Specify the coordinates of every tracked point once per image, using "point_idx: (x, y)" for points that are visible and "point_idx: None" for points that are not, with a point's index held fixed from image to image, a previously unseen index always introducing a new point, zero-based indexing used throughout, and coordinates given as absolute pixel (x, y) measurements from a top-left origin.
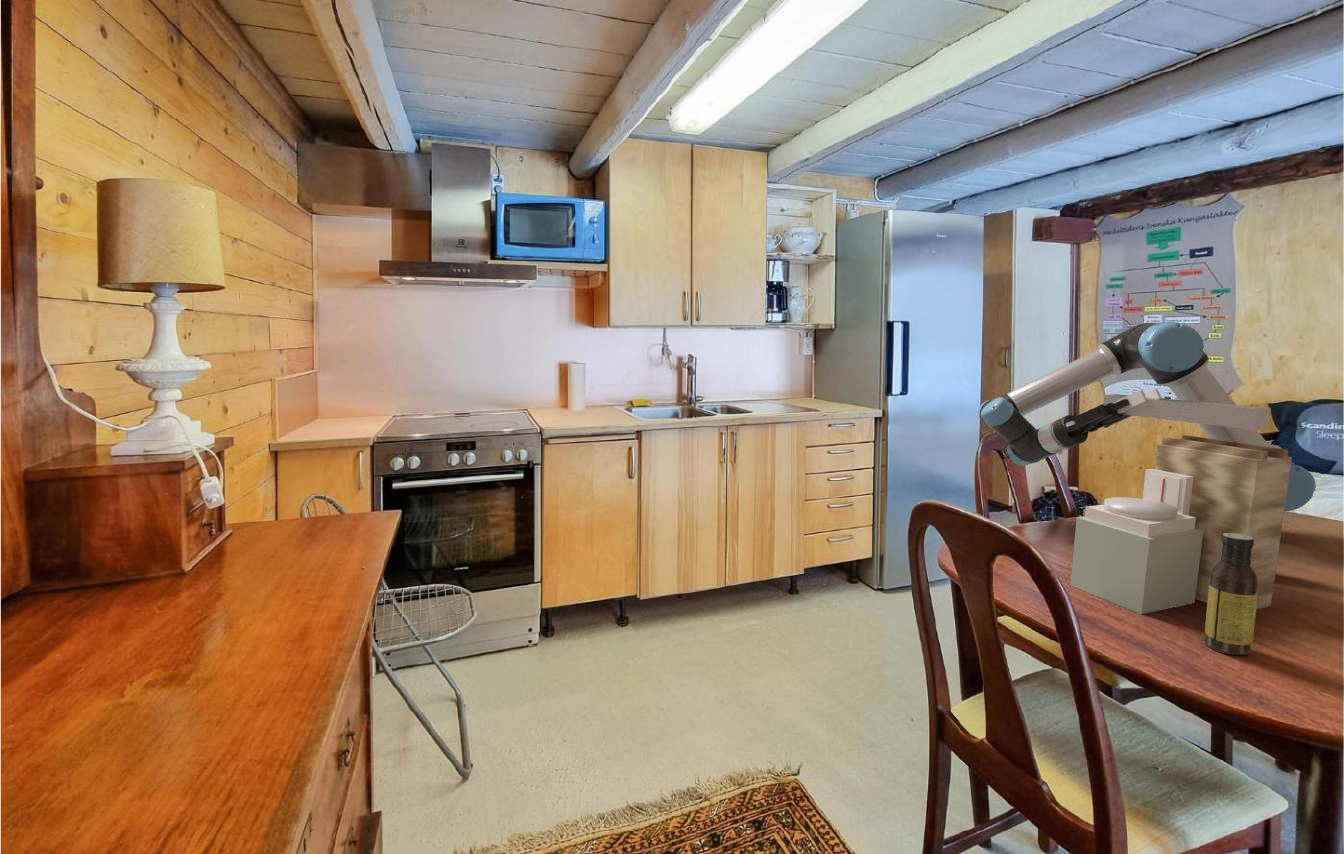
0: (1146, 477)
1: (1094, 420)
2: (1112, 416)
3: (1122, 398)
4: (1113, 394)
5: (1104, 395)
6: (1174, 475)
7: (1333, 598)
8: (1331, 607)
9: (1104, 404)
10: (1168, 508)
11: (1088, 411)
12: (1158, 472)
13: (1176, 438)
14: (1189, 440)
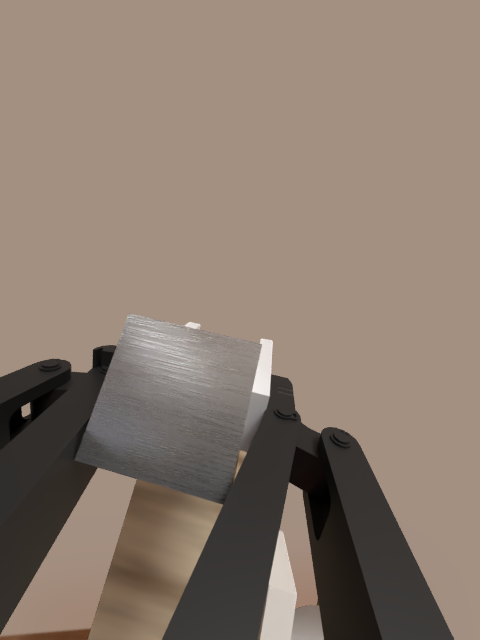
0: (292, 619)
1: (325, 631)
2: (46, 528)
3: (270, 372)
4: (168, 323)
5: (259, 348)
6: (285, 546)
7: (13, 635)
8: (66, 632)
9: (243, 425)
10: (313, 619)
11: (407, 560)
12: (290, 570)
13: (239, 464)
14: (241, 456)
